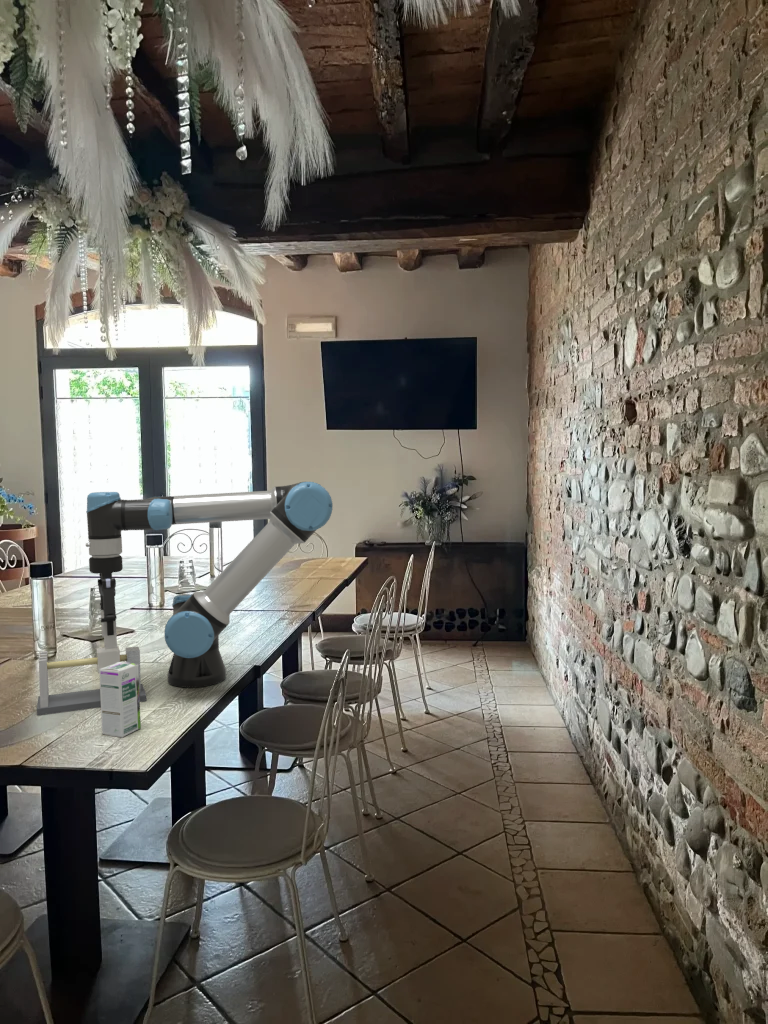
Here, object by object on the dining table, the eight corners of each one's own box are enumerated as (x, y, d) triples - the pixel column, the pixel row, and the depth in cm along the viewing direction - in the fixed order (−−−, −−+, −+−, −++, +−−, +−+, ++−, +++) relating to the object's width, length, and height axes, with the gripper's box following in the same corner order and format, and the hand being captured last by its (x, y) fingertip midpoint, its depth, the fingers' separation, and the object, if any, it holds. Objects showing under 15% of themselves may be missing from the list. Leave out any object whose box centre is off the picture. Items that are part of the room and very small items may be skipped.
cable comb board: (142, 689, 182) (141, 641, 181) (146, 701, 173) (145, 650, 172) (38, 702, 172) (36, 651, 171) (37, 715, 163) (35, 661, 162)
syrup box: (122, 738, 149) (120, 670, 148) (100, 734, 151) (98, 667, 150) (141, 728, 154) (139, 663, 154) (119, 725, 157) (118, 660, 156)
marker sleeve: (118, 665, 177) (118, 645, 177) (120, 670, 172) (119, 650, 172) (97, 668, 175) (96, 648, 174) (98, 673, 170) (97, 652, 170)
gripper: (87, 551, 182) (90, 633, 183) (90, 562, 159) (94, 656, 160) (118, 549, 185) (121, 629, 186) (126, 560, 162) (129, 651, 163)
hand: (109, 642), depth 173 cm, fingers open, 13 cm apart
